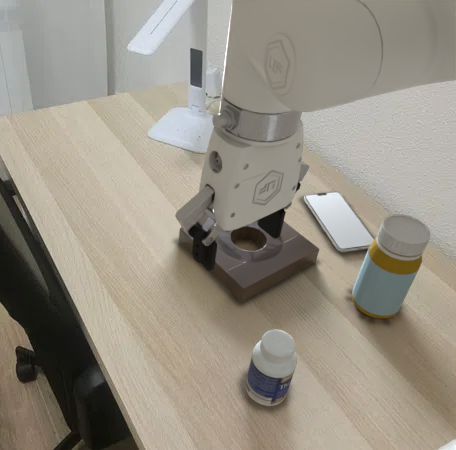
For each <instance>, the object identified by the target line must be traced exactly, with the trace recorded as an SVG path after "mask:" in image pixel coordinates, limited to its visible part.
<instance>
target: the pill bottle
mask: <svg viewBox="0 0 456 450" xmlns="http://www.w3.org/2000/svg"><path fill="white" fill-rule="evenodd" d="M295 351H296V341H295V339H294V338H293V337H292V335H290V333H288V332H286V331H285V330H282V329H270V330H268V331H266V332H264V334H263V335H262V337H261V340H259V342H258V343H256V344H255V346H254V348H253V350H252V352H251V353H252V354H251V357H250V361H249V365H248V370H247V374H246V379H245V384H244V385H245V391H246V393H247V395H248V396H249V397H250V399H251V400H253V401H254V402H255V403H257V404H259V405H262V406H265V407H274V406H277V405H279V404H281V403H282V402H283V401H284V400H285V398H286V396H287V394H288V391H289V389H290V385H291V382H292V380H293V378H294V374H295V371H296V368H297V364H298V357H297V354H296V352H295Z"/></svg>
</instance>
